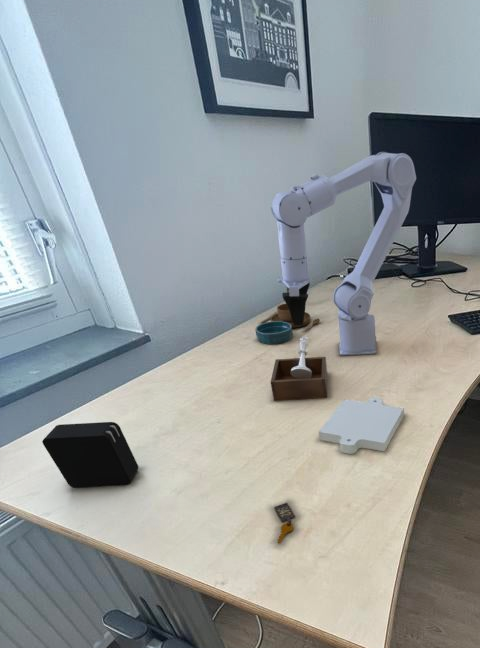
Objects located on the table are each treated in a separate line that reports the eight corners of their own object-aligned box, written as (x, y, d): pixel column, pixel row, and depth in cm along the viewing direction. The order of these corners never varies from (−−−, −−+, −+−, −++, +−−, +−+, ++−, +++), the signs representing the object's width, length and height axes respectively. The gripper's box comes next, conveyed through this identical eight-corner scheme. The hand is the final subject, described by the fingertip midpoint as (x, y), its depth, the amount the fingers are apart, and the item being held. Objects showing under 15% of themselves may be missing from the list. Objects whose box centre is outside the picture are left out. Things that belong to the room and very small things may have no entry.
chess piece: (308, 368, 96) (311, 329, 99) (287, 369, 97) (290, 330, 100) (314, 379, 101) (317, 341, 104) (294, 380, 102) (297, 342, 104)
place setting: (255, 325, 130) (250, 305, 127) (290, 305, 145) (287, 286, 141) (305, 333, 125) (303, 312, 121) (337, 311, 139) (335, 292, 136)
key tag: (274, 505, 68) (273, 502, 68) (293, 502, 69) (292, 499, 69) (277, 543, 62) (276, 540, 62) (298, 539, 63) (297, 536, 62)
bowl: (294, 330, 127) (292, 320, 125) (292, 343, 119) (290, 333, 117) (259, 332, 126) (257, 322, 124) (255, 345, 119) (253, 334, 117)
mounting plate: (380, 459, 78) (379, 450, 76) (314, 447, 81) (313, 438, 80) (406, 410, 91) (407, 402, 90) (349, 401, 94) (348, 393, 93)
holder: (327, 374, 104) (325, 356, 102) (327, 397, 96) (325, 378, 93) (278, 377, 104) (275, 359, 101) (274, 400, 95) (270, 382, 92)
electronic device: (81, 473, 76) (53, 424, 69) (140, 469, 76) (117, 421, 70) (70, 488, 73) (39, 439, 66) (131, 484, 73) (106, 435, 67)
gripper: (278, 250, 101) (284, 310, 109) (271, 264, 90) (279, 329, 98) (308, 250, 102) (313, 309, 110) (306, 264, 90) (311, 329, 99)
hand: (299, 319), depth 104 cm, fingers open, 7 cm apart
